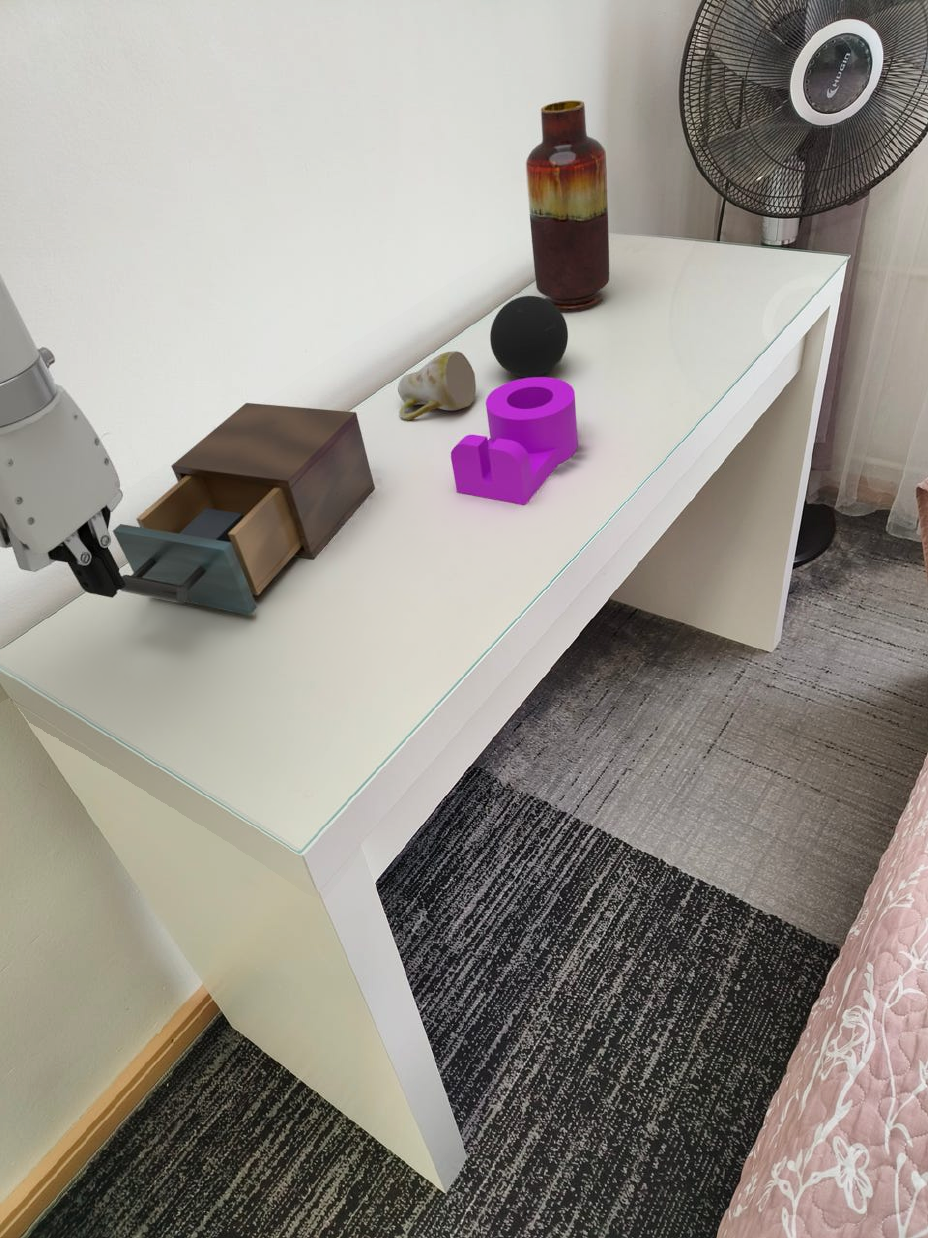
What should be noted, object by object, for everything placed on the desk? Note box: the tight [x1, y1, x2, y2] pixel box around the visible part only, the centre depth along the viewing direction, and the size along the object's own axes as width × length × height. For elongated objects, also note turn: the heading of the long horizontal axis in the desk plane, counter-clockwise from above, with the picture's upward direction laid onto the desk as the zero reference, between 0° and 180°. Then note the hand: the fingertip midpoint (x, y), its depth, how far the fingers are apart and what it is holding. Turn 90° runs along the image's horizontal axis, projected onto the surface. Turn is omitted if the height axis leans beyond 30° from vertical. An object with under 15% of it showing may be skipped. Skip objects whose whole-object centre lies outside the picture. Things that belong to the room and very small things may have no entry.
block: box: [179, 508, 244, 566], centre depth 85 cm, size 5×5×5 cm
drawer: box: [112, 474, 303, 616], centre depth 83 cm, size 17×13×8 cm
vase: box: [525, 100, 610, 313], centre depth 121 cm, size 11×11×26 cm
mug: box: [397, 350, 477, 421], centre depth 107 cm, size 8×10×10 cm
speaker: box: [489, 295, 569, 378], centre depth 109 cm, size 10×10×10 cm
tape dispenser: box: [450, 376, 579, 506], centre depth 94 cm, size 16×10×6 cm, turn 151°
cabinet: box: [171, 402, 376, 560], centre depth 92 cm, size 14×15×10 cm
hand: (106, 589), depth 73 cm, fingers closed
